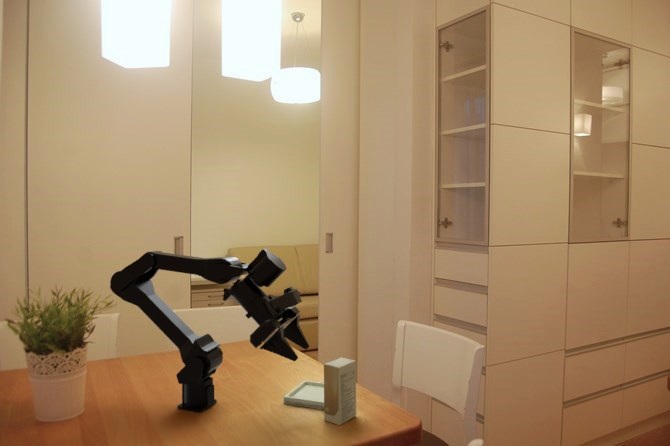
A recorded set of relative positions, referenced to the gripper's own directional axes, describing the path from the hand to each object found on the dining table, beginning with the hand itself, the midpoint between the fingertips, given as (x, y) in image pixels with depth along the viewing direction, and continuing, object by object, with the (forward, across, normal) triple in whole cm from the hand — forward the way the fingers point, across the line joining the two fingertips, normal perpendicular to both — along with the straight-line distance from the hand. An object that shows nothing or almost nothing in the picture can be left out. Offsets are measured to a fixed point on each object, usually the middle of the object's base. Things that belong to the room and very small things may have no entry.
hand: (302, 353), depth 101 cm
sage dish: (+10, +10, +9) cm, 17 cm away
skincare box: (+16, 0, +4) cm, 16 cm away
